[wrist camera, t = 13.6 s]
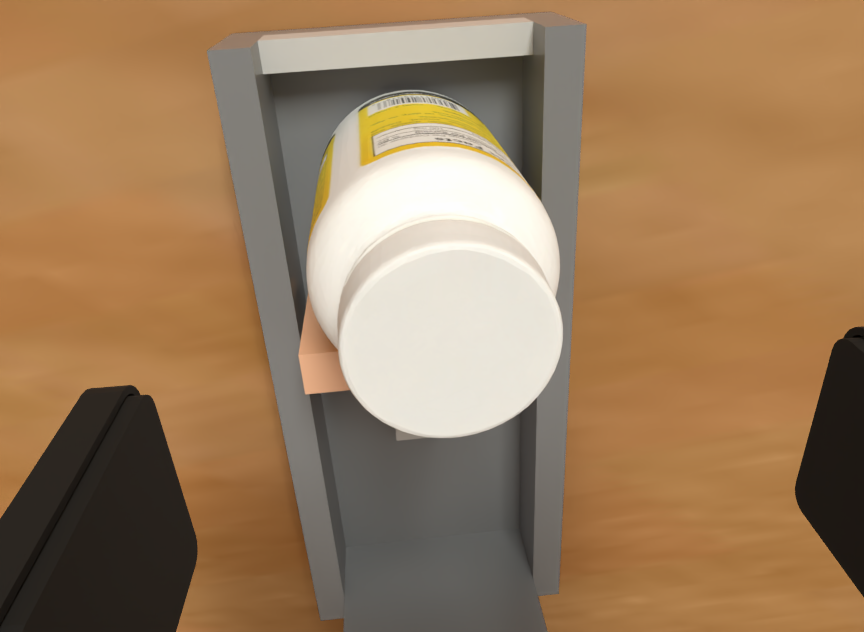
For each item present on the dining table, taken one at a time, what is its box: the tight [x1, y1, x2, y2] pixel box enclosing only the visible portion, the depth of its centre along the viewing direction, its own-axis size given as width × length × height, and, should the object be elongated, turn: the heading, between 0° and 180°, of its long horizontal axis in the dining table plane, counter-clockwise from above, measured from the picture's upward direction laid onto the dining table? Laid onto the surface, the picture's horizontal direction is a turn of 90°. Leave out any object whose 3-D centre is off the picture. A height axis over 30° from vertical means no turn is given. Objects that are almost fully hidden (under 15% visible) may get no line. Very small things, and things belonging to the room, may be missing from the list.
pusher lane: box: [207, 12, 586, 632], centre depth 21 cm, size 20×9×7 cm, turn 3°
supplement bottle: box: [306, 90, 563, 438], centre depth 16 cm, size 5×5×10 cm
